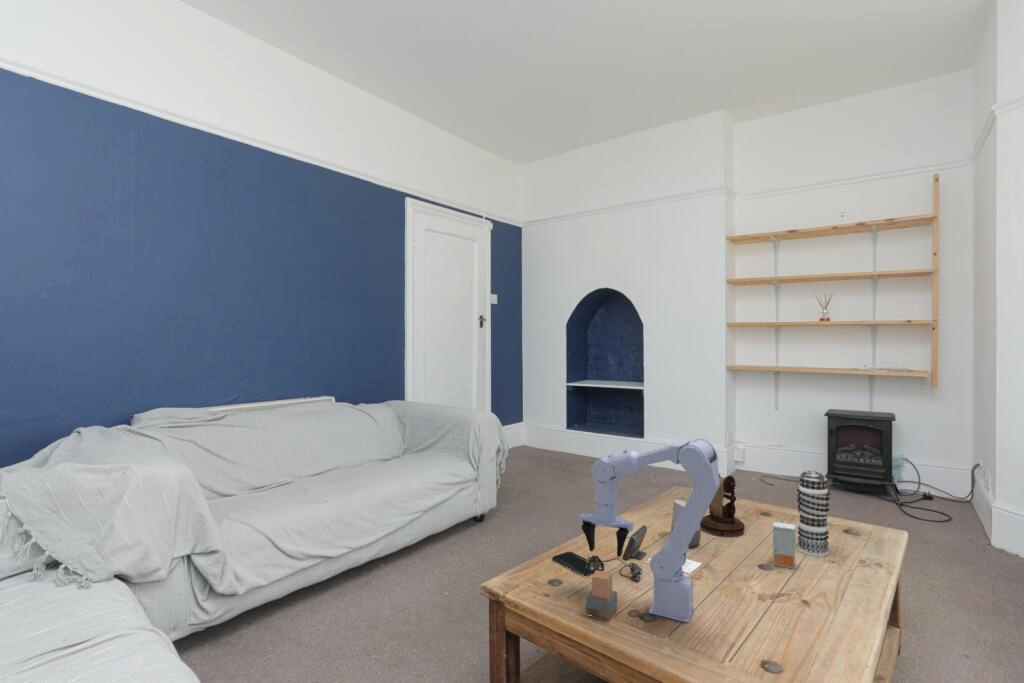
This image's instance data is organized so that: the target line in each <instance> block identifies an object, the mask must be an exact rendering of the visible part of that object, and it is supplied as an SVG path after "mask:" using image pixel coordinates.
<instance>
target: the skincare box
mask: <svg viewBox="0 0 1024 683" xmlns="http://www.w3.org/2000/svg"><path fill="white" fill-rule="evenodd" d="M772 524H773V525H772V566H777V567H783V568H788V569H792V570H795V569H796V566H795V565H796V530H797V529H796V524H790V523H784V522H776V521H773V523H772Z"/></svg>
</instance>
